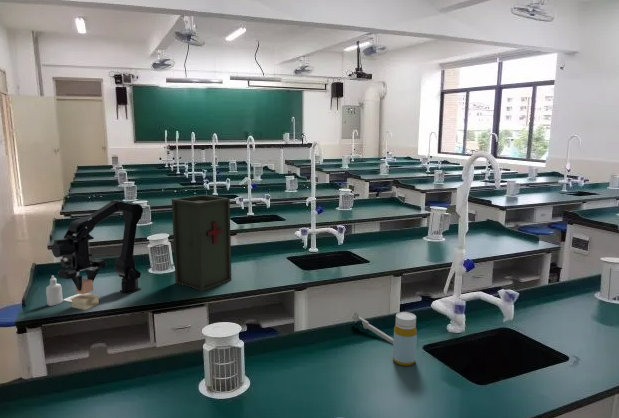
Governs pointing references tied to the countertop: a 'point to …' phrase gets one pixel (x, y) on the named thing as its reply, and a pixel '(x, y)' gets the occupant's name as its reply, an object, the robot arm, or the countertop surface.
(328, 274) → the countertop surface
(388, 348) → the countertop surface
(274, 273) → the countertop surface
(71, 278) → the robot arm
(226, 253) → the first aid box
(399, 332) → the bottle
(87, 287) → the terracotta brick
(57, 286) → the eye dropper bottle
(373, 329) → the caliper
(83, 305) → the beech base block
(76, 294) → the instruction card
